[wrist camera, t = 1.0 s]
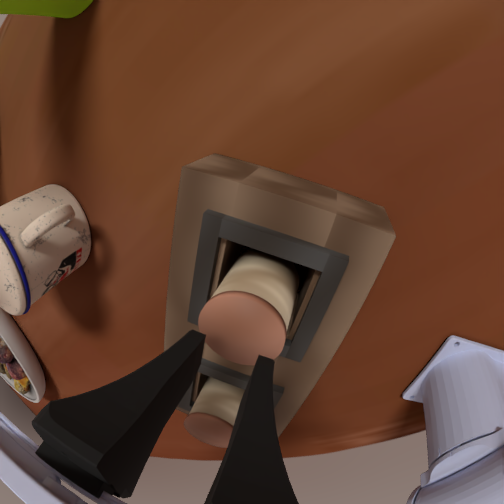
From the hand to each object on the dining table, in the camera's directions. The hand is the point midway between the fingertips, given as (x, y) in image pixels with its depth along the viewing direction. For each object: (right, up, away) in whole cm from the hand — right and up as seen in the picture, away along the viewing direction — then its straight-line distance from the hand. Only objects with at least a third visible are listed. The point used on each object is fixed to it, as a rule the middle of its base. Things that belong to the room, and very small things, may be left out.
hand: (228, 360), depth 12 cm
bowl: (-50, -12, +33) cm, 61 cm away
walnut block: (+1, 0, +11) cm, 11 cm away
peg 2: (+2, +3, +6) cm, 7 cm away
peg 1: (-1, -6, +11) cm, 13 cm away
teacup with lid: (-16, +8, +13) cm, 22 cm away
